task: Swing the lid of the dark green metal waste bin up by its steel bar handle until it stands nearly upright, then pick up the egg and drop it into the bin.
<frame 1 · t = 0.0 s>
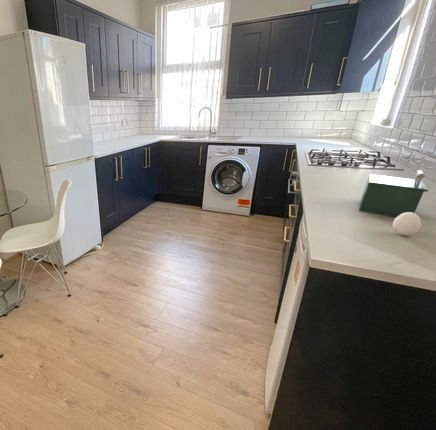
bin lid: (398, 176, 105), point 13 cm above the countertop, hinge at 0.0°
egg: (401, 235, 89), on the countertop
bin: (383, 209, 110), on the countertop
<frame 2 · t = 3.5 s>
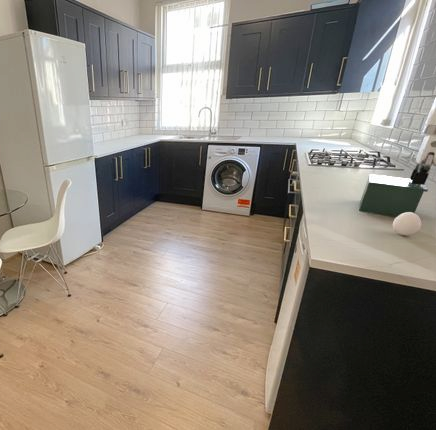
hand: (416, 181, 102), 12 cm above the countertop, tool pointing down, fingers closed on bin lid, 6 cm apart
bin lid: (398, 176, 105), point 13 cm above the countertop, hinge at 0.0°, touching gripper
everything else where it was.
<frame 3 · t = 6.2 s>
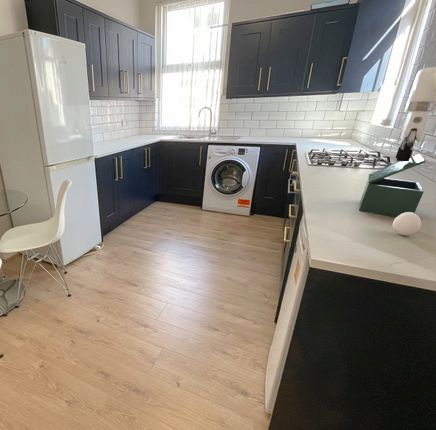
hand: (401, 159, 103), 20 cm above the countertop, tool pointing down, fingers closed on bin lid, 6 cm apart
bin lid: (391, 163, 105), point 18 cm above the countertop, hinge at 39.2°, touching gripper
everything else where it was.
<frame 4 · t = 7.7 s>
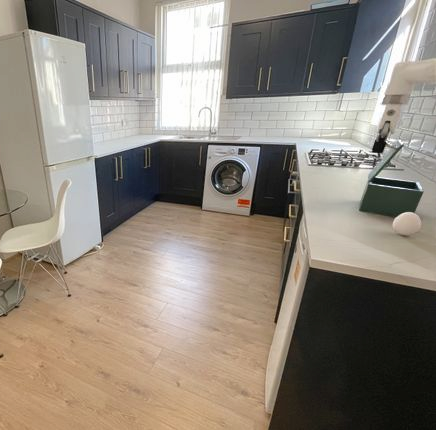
hand: (377, 151, 106), 22 cm above the countertop, tool pointing down, fingers closed on bin lid, 6 cm apart
bin lid: (378, 158, 107), point 19 cm above the countertop, hinge at 70.3°, touching gripper
everything else where it was.
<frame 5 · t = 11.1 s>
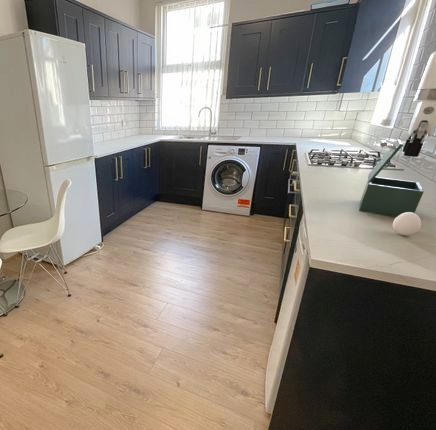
hand: (409, 154, 89), 24 cm above the countertop, tool pointing down, fingers open, 9 cm apart
bin lid: (377, 158, 107), point 19 cm above the countertop, hinge at 71.2°
everything else where it was.
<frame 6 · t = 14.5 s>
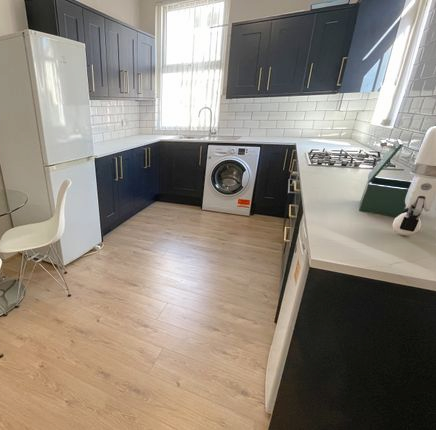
hand: (405, 226, 88), 3 cm above the countertop, tool pointing down, fingers closed on egg, 6 cm apart
egg: (401, 235, 89), on the countertop, touching gripper
everything else where it was.
when the fingers open (14 cm above the countertop, at t = 20.8 s): egg drops 11 cm, resting on bin.
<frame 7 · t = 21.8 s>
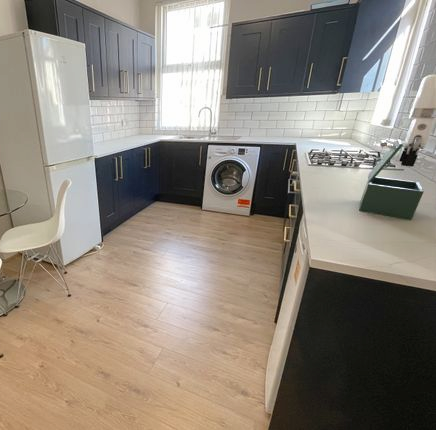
hand: (405, 163, 102), 18 cm above the countertop, tool pointing down, fingers open, 9 cm apart
egg: (387, 208, 109), point 1 cm above the countertop, touching bin
everything else where it was.
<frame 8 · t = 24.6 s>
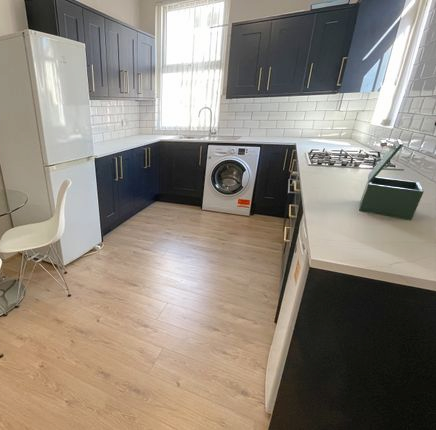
nothing on the countertop moved.
at the end: bin lid at +71° (first picture: +0°); egg inside the target area in the bin (0.9 cm from its centre), point 0.6 cm above the bin's base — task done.
